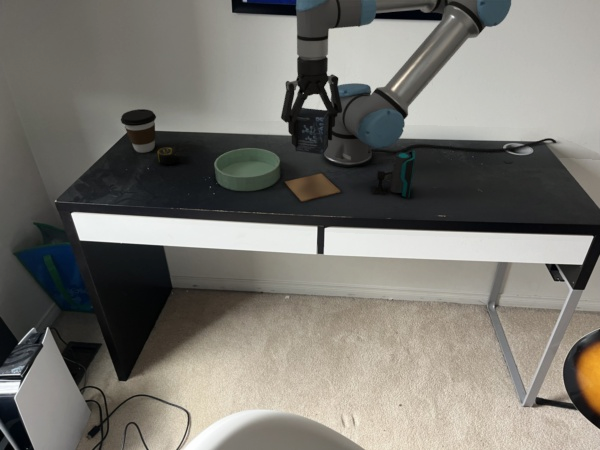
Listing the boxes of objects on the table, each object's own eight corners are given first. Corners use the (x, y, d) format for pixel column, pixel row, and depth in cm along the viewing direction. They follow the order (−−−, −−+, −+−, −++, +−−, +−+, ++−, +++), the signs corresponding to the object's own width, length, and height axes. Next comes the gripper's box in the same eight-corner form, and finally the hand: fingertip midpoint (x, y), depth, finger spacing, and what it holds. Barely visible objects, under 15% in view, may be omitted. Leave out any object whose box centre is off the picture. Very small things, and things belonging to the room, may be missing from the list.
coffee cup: (136, 141, 164) (128, 107, 157) (166, 142, 162) (160, 109, 156) (122, 155, 155) (113, 120, 148) (154, 156, 153) (146, 121, 147)
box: (295, 151, 128) (294, 114, 122) (301, 143, 132) (301, 106, 126) (323, 155, 126) (323, 117, 120) (328, 146, 130) (329, 109, 124)
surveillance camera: (377, 147, 129) (414, 149, 128) (373, 185, 136) (409, 188, 135) (376, 156, 125) (415, 158, 123) (372, 195, 131) (409, 198, 130)
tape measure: (180, 164, 149) (179, 153, 146) (158, 167, 147) (156, 156, 145) (178, 155, 154) (176, 145, 152) (157, 158, 152) (154, 148, 150)
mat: (321, 174, 142) (321, 173, 142) (340, 192, 133) (340, 191, 133) (284, 182, 138) (284, 181, 138) (301, 201, 129) (301, 200, 129)
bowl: (266, 156, 153) (265, 143, 150) (290, 182, 138) (290, 168, 136) (208, 168, 146) (206, 155, 144) (227, 197, 132) (225, 182, 129)
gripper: (344, 47, 122) (341, 129, 134) (264, 57, 114) (268, 143, 127) (359, 54, 116) (354, 139, 129) (276, 65, 109) (279, 154, 121)
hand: (311, 141), depth 128 cm, fingers closed on box, 9 cm apart
